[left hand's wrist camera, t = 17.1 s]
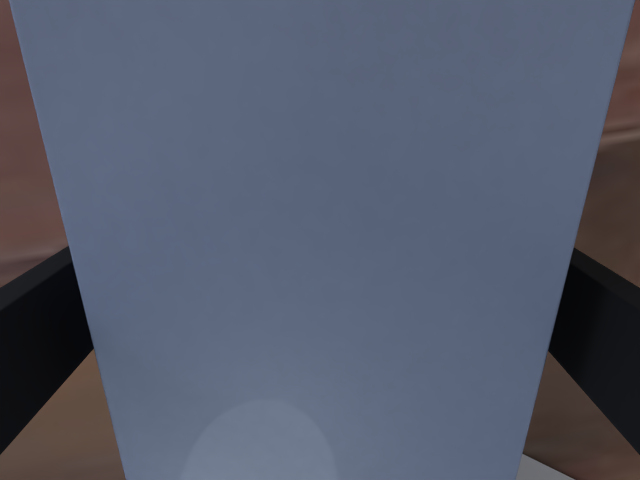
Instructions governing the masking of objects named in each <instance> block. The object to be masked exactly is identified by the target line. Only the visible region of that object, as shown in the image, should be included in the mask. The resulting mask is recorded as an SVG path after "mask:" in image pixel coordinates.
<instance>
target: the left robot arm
mask: <svg viewBox="0 0 640 480" xmlns="http://www.w3.org/2000/svg"><path fill="white" fill-rule="evenodd" d="M93 349H94V346H93V342H92V338H91V334H90V330H89V326H88V322H87V318H86V314H85V309H84V305H83V301H82V297H81V293H80V289H79V285H78V281H77V277H76V273H75V269H74V264H73V260H72V256H71V252H70V248H69V246H68V247H66V248H64V249H63V250H61V251H60V252H58V253H56V254H55V255H53V256H51V257H50V258H48V259H47V260H45V261H43V262H42V263H40V264H38V265H37V266H35V267H34V268H32V269H30V270H29V271H27V272H26V273H24V274H22V275H21V276H19V277H17V278H16V279H14V280H13V281H11V282H9V283H8V284H6V285H4V286H3V287H1V288H0V454H1V453H2V452H3V451H4V450H5V449H6V448H7V447H8V445H9V444H10V443H11V442H12V441H13V440H14V439H15V437H16V436H17V435H18V434H19V433H20V432H21V431H22V429H23V428H24V427H25V426H26V425H27V424H28V423H29V421H30V420H31V419H32V418H33V417H34V416H35V415H36V414H37V412H38V411H39V410H40V409H41V408H42V407H43V406H44V404H45V403H46V402H47V401H48V400H49V399H50V398H51V396H52V395H53V394H54V393H55V392H56V391H57V390H58V388H59V387H60V386H61V385H62V384H63V383H64V382H65V381H66V379H67V378H68V377H69V376H70V375H71V374H72V373H73V371H74V370H75V369H76V368H77V367H78V366H79V365H80V363H81V362H82V361H83V360H84V359H85V358H86V357H87V355H88V354H89V353H90V352H91V351H92V350H93ZM548 351H549V352H550V353H551V354H552V355H553V357H554V358H555V359H556V360H557V361H558V362H559V363H560V365H561V366H562V367H563V368H564V369H565V370H566V371H567V373H568V374H569V375H570V376H571V377H572V378H573V379H574V381H575V382H576V383H577V384H578V385H579V386H580V387H581V388H582V390H583V391H584V392H585V393H586V394H587V395H588V396H589V398H590V399H591V400H592V401H593V402H594V403H595V404H596V406H597V407H598V408H599V409H600V410H601V411H602V412H603V414H604V415H605V416H606V417H607V418H608V419H609V420H610V421H611V423H612V424H613V425H614V426H615V427H616V428H617V429H618V431H619V432H620V433H621V434H622V435H623V436H624V437H625V439H626V440H627V441H628V442H629V443H630V444H631V445H632V447H633V448H634V449H635V450H636V451H637V452H638V453H639V454H640V288H639V287H637V286H636V285H634V284H632V283H631V282H629V281H627V280H626V279H624V278H623V277H621V276H619V275H618V274H616V273H614V272H613V271H611V270H610V269H608V268H606V267H605V266H603V265H602V264H600V263H598V262H597V261H595V260H593V259H592V258H590V257H589V256H587V255H585V254H584V253H582V252H580V251H579V250H577V249H576V248H573V252H572V256H571V260H570V264H569V268H568V272H567V276H566V280H565V284H564V288H563V292H562V296H561V300H560V304H559V308H558V312H557V316H556V320H555V324H554V328H553V332H552V336H551V340H550V344H549V348H548Z"/></svg>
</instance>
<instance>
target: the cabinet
mask: <svg viewBox="0 0 640 480" xmlns="http://www.w3.org/2000/svg"><path fill="white" fill-rule="evenodd" d="M9 2H10V6H11V11H12V15H13V19H14V23H15V27H16V31H17V35H18V39H19V43H20V47H21V51H22V56H23V60H24V64H25V68H26V72H27V76H28V80H29V84H30V88H31V92H32V97H33V101H34V105H35V109H36V113H37V117H38V121H39V125H40V129H41V133H42V137H43V142H44V146H45V150H46V154H47V158H48V162H49V166H50V170H51V174H52V178H53V183H54V187H55V191H56V195H57V199H58V203H59V207H60V211H61V215H62V219H63V223H64V228H65V232H66V236H67V240H68V244H69V248H70V252H71V256H72V260H73V264H74V269H75V273H76V277H77V281H78V285H79V289H80V293H81V297H82V301H83V305H84V309H85V314H86V318H87V322H88V326H89V330H90V334H91V338H92V342H93V346H94V350H95V354H96V359H97V363H98V367H99V371H100V375H101V379H102V383H103V387H104V391H105V395H106V400H107V404H108V408H109V412H110V416H111V420H112V424H113V428H114V432H115V436H116V440H117V445H118V449H119V453H120V457H121V461H122V465H123V469H124V473H125V477H126V480H516V477H517V473H518V469H519V465H520V461H521V457H522V453H523V449H524V445H525V441H526V437H527V433H528V429H529V425H530V421H531V417H532V413H533V408H534V404H535V400H536V396H537V392H538V388H539V384H540V380H541V376H542V372H543V368H544V364H545V360H546V356H547V352H548V348H549V344H550V340H551V336H552V332H553V328H554V324H555V320H556V316H557V312H558V308H559V304H560V300H561V296H562V292H563V288H564V284H565V280H566V276H567V272H568V268H569V264H570V260H571V256H572V252H573V248H574V244H575V240H576V236H577V232H578V228H579V224H580V220H581V216H582V212H583V208H584V204H585V200H586V195H587V191H588V187H589V183H590V179H591V175H592V171H593V167H594V163H595V159H596V155H597V151H598V147H599V143H600V139H601V135H602V131H603V127H604V123H605V119H606V115H607V111H608V107H609V103H610V99H611V95H612V91H613V87H614V83H615V79H616V75H617V71H618V67H619V63H620V59H621V55H622V51H623V47H624V43H625V39H626V35H627V31H628V27H629V23H630V19H631V15H632V11H633V7H634V3H635V0H9Z"/></svg>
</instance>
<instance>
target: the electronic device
mask: <svg viewBox="0 0 640 480" xmlns="http://www.w3.org/2000/svg"><path fill="white" fill-rule="evenodd" d="M516 480H575V479H573V478H571V477H569V476H566V475H564V474H562V473H560V472H558V471H556V470H554V469H552V468H550V467H548V466H546V465H544V464H542V463H540V462H538V461H536V460H534V459H532V458H530V457H528V456H526V455H524V454H522V457H521V461H520V465H519V469H518V473H517V477H516Z"/></svg>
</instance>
